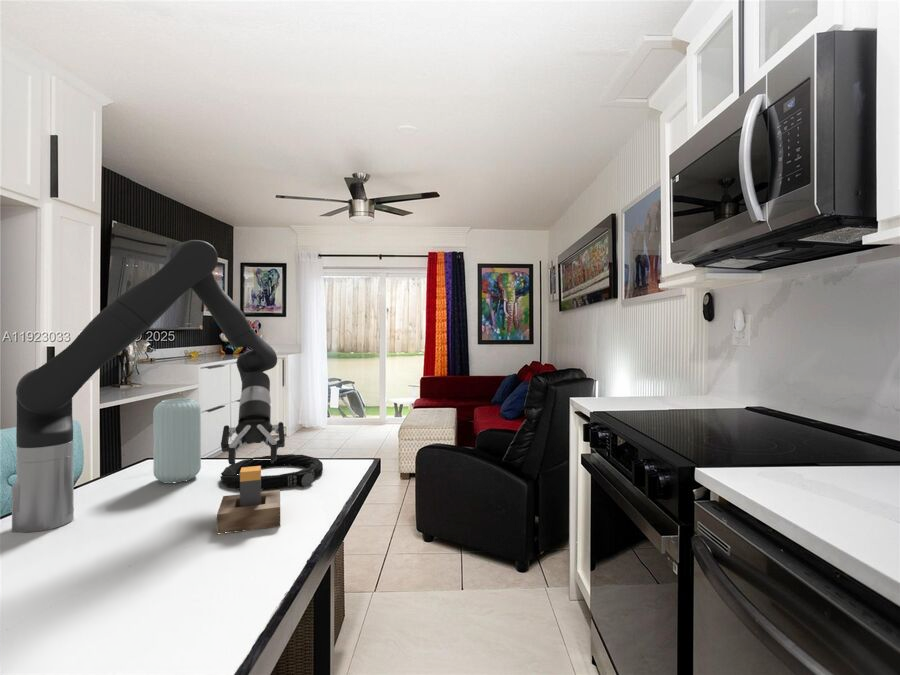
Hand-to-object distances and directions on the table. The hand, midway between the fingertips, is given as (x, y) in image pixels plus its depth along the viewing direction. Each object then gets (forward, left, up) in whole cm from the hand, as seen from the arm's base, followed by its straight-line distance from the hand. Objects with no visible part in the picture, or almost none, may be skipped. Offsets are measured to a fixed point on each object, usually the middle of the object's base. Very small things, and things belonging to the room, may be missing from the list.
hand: (252, 463), depth 112 cm
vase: (-21, +31, -10) cm, 39 cm away
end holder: (0, -9, -10) cm, 14 cm away
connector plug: (0, -9, -9) cm, 13 cm away
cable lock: (+5, +24, -11) cm, 26 cm away
